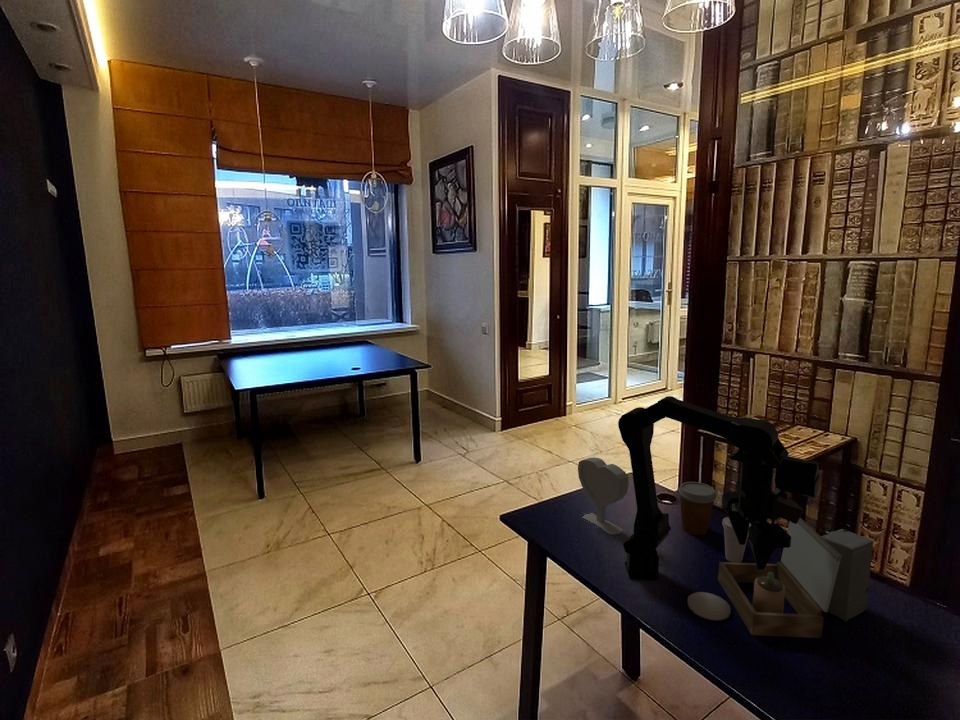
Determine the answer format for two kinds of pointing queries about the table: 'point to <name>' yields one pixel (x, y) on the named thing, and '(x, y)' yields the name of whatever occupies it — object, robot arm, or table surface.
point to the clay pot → (768, 594)
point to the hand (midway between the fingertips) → (750, 556)
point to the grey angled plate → (812, 562)
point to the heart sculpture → (602, 489)
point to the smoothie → (732, 543)
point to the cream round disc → (709, 606)
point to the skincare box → (850, 573)
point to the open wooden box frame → (772, 623)
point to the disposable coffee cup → (696, 506)
